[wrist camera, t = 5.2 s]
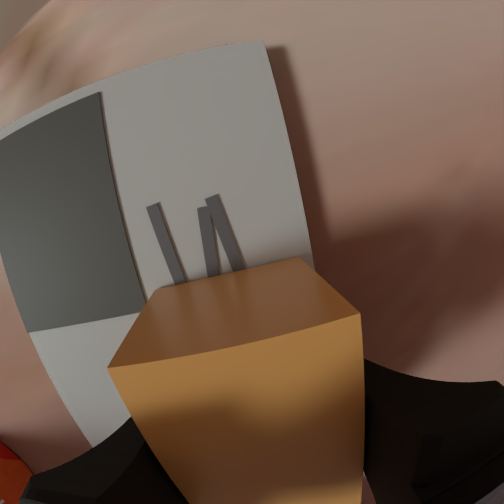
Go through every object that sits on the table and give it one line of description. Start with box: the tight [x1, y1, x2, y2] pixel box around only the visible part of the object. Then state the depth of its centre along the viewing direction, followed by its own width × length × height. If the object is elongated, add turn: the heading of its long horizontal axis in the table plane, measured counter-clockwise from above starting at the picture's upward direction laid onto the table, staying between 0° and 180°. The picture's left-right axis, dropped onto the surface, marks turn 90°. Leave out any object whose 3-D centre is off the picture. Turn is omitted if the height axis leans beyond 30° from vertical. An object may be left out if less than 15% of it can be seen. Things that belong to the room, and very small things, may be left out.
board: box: [0, 40, 315, 447], centre depth 11 cm, size 18×12×1 cm, turn 12°
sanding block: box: [107, 257, 365, 504], centre depth 9 cm, size 8×5×5 cm, turn 12°
